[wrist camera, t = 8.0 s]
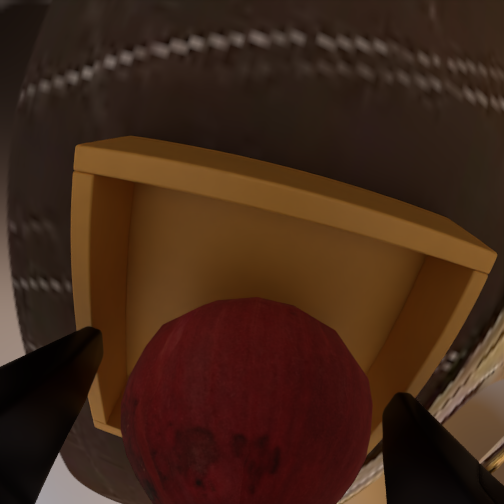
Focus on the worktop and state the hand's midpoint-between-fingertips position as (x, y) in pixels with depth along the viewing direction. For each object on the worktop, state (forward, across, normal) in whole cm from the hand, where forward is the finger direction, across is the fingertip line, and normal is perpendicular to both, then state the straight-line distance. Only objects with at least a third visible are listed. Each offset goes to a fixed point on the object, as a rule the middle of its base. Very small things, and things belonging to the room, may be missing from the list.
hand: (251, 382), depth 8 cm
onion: (+3, 0, 0) cm, 3 cm away
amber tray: (+3, 0, 0) cm, 3 cm away
